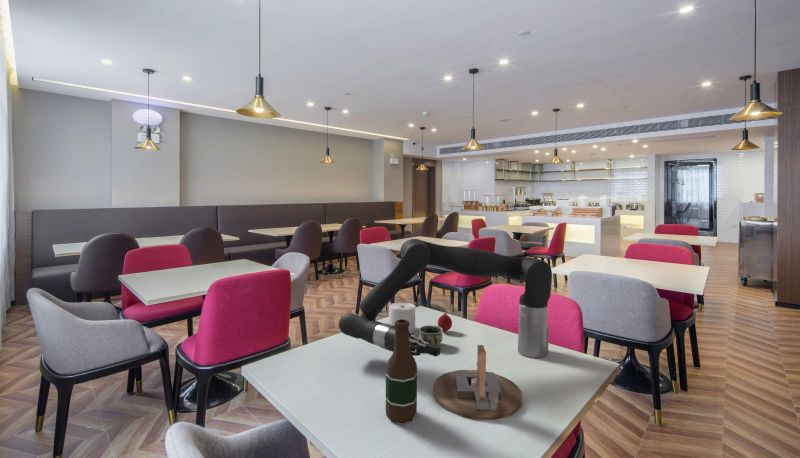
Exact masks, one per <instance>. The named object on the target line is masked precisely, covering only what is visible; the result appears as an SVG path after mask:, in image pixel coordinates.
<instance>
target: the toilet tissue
mask: <svg viewBox="0 0 800 458" xmlns="http://www.w3.org/2000/svg"><path fill="white" fill-rule="evenodd" d="M401 319H403V320H407V321H409V324H410V325H409V333H410V334H412V333H414V332H416V305H415V304H413V303H410V302H395V303H392V302H391V301H389V302H388V324H392V325H394V324H395V322H396V321H397V320H401Z"/></svg>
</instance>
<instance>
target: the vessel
mask: <svg viewBox="0 0 800 458" xmlns="http://www.w3.org/2000/svg"><path fill="white" fill-rule="evenodd" d="M418 330H419V335H418V337H422V336H423V335H424V334H425V335H427V336H428V337H429V339H430V340H431V345H433V346H436V347H439V348H440V349H441V347H442V345H441V343H442V342H443V338H444V337H443V335H442V333H443V331H442V330H443V329H442V328H441V327H438V325H430V324H429V325H428V324H427V325H423V326H420V327H419V328H418Z"/></svg>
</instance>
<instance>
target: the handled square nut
mask: <svg viewBox="0 0 800 458" xmlns="http://www.w3.org/2000/svg"><path fill="white" fill-rule="evenodd" d="M476 360H477V361H476V370H477V372H466V371H457V370H453V371H454V380H455V386H456V392H457V398H464V399H474V401H475V405H476V409H477V410H485V411H489V401H488V392H490V391H495V392H497V393H498V400H502V391H501V388H500V386H499V383H498V381H497V378H496V376H495V374H496V373H495V372H490V371H487V367H486V366H487V351H486V349H485V346H484V345H483V344H478V345H477V359H476ZM473 378H477V386H473V385H469V384H471V379H473Z"/></svg>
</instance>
